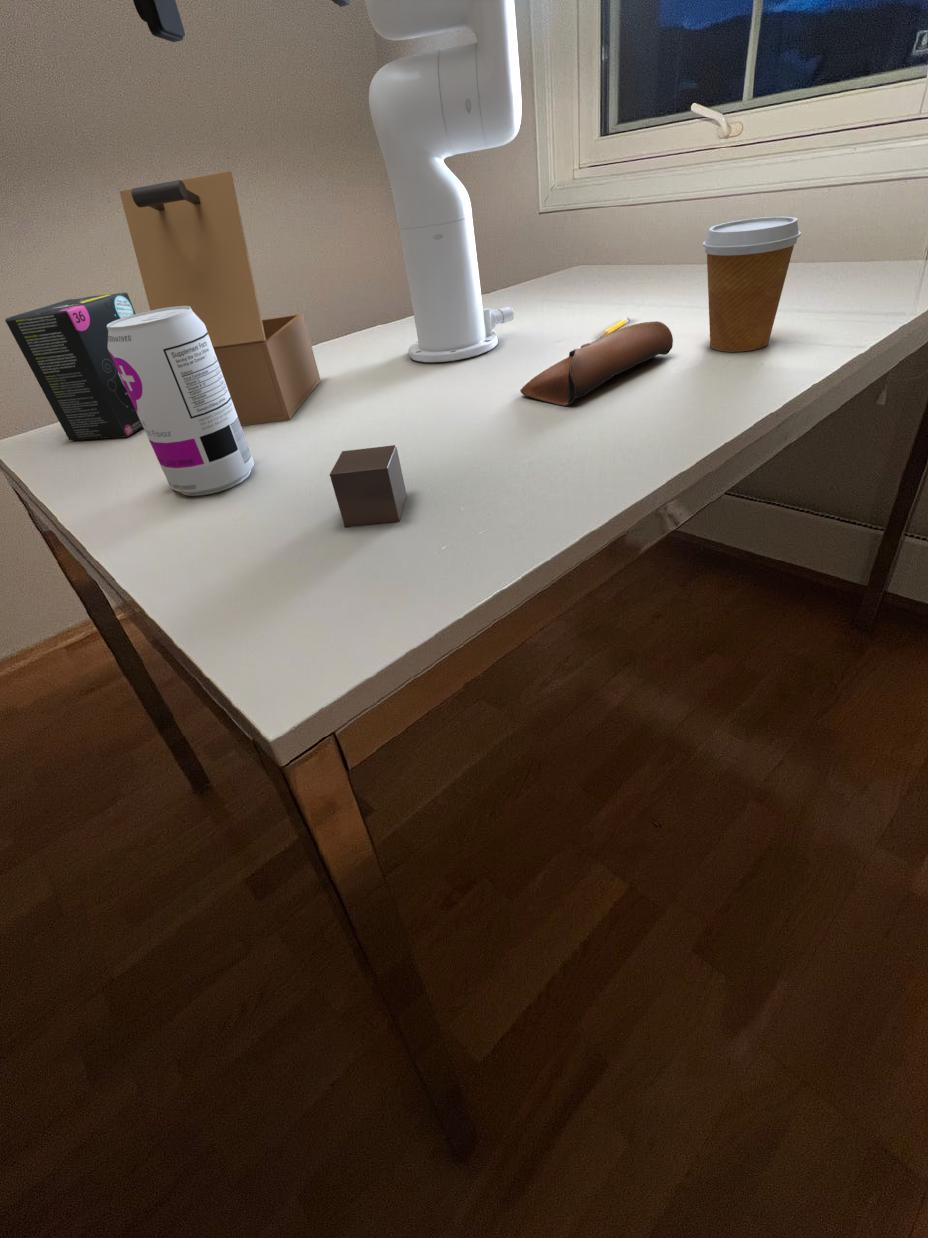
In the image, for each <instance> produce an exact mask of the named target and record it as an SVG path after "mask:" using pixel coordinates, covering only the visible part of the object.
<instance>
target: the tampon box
mask: <svg viewBox="0 0 928 1238" xmlns="http://www.w3.org/2000/svg"><path fill="white" fill-rule="evenodd" d="M135 314H137V313H136V312H135V309H134V306H133V304H132V301H131V299H130V297H129V294H128V292H117V293H112V294H101V295H91V296H86V297H81V298H80V297H79V298H70V299H64V300H62V301H58V302H56V303H53V304H49V305H46V306H42V307H40V308H36V309H32V310H29V311H26V312H22V313H19V314H16V315H12V316H9V317H6V318H5V319H4V321H5V324H6V325H7V327H8V329H9V331H10V333H11V335H12V337H13V338H14V339H15V342H16V344H17V345H18V348H19V350H20V351H21V353H22V355H23V357H24V358H25V360H26V363H27V365H28V366H29V368H30V370H31V371H32V373H33V375H34V377H35V379H36V381H37V382H38V385H39V386H40V388H41V390H42V392H43V394H44V397H45V398H46V400H47V402H48V404H49V406H50V407H51V409H52V411H53V414H55V417H56V419H57V420H58V422H59V424H60V426H61V428H62V430H63V432H64V433H65V435H66V437H67V439H68V440H69V441H79V440H97V439H98V440H99V439H116V438H125V437H129V436H131V435H132V434H134V433H136V432H137V431H139V430H140V429H142V428H143V426H142V423H141V421H140V419H139V417H138V414H137V412H136V410H135V408H134V406H133V403H132V401H131V399H130V397H129V394H128V392H127V390H126V388H125V386H124V383H123V381H122V379H121V377H120V375H119V372H118V370H117V368H116V366H115V363H114V361H113V359H112V357H111V355H110V352H109V350H108V348H107V347H108V329H107V324H109V323H111V322H113V321H115V320H118V319H121V318H124V317H128V316H131V315H135Z"/></svg>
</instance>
